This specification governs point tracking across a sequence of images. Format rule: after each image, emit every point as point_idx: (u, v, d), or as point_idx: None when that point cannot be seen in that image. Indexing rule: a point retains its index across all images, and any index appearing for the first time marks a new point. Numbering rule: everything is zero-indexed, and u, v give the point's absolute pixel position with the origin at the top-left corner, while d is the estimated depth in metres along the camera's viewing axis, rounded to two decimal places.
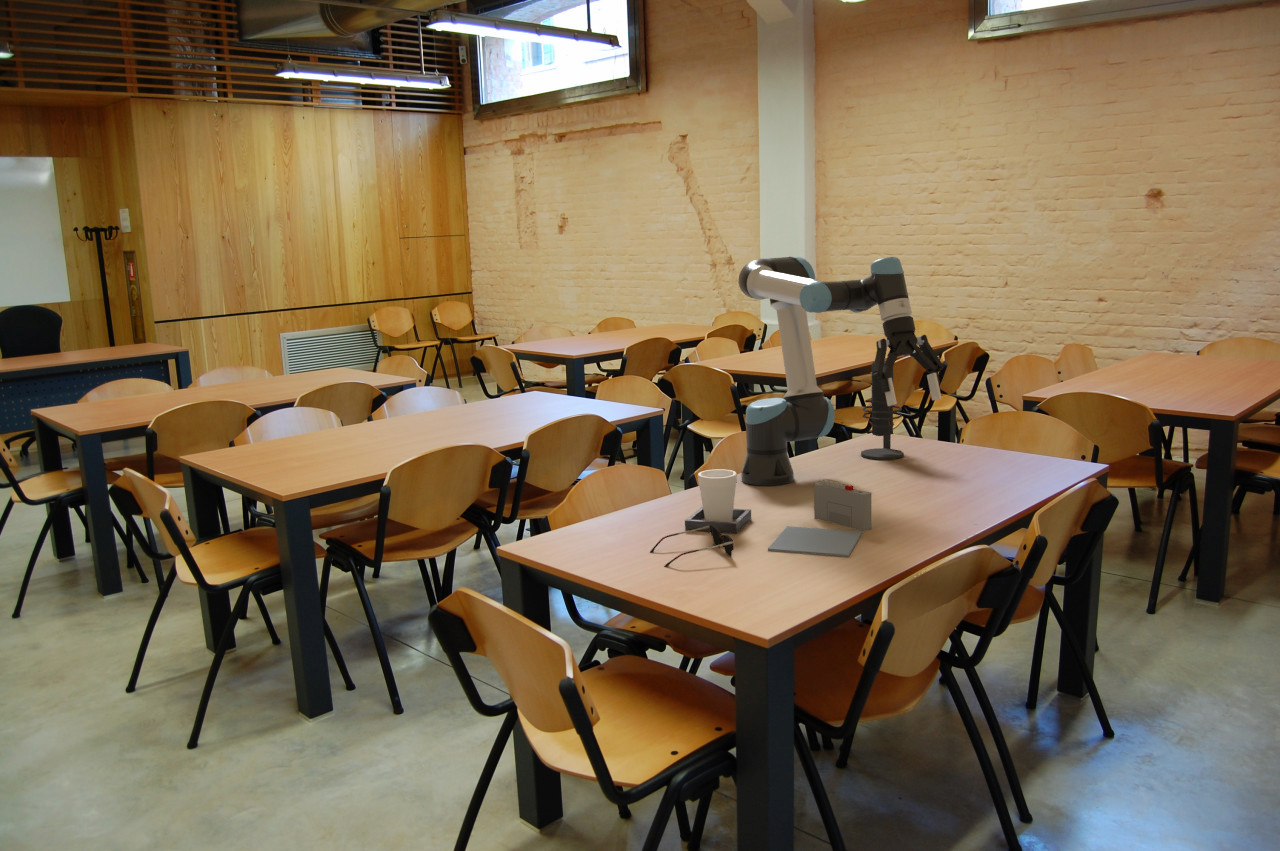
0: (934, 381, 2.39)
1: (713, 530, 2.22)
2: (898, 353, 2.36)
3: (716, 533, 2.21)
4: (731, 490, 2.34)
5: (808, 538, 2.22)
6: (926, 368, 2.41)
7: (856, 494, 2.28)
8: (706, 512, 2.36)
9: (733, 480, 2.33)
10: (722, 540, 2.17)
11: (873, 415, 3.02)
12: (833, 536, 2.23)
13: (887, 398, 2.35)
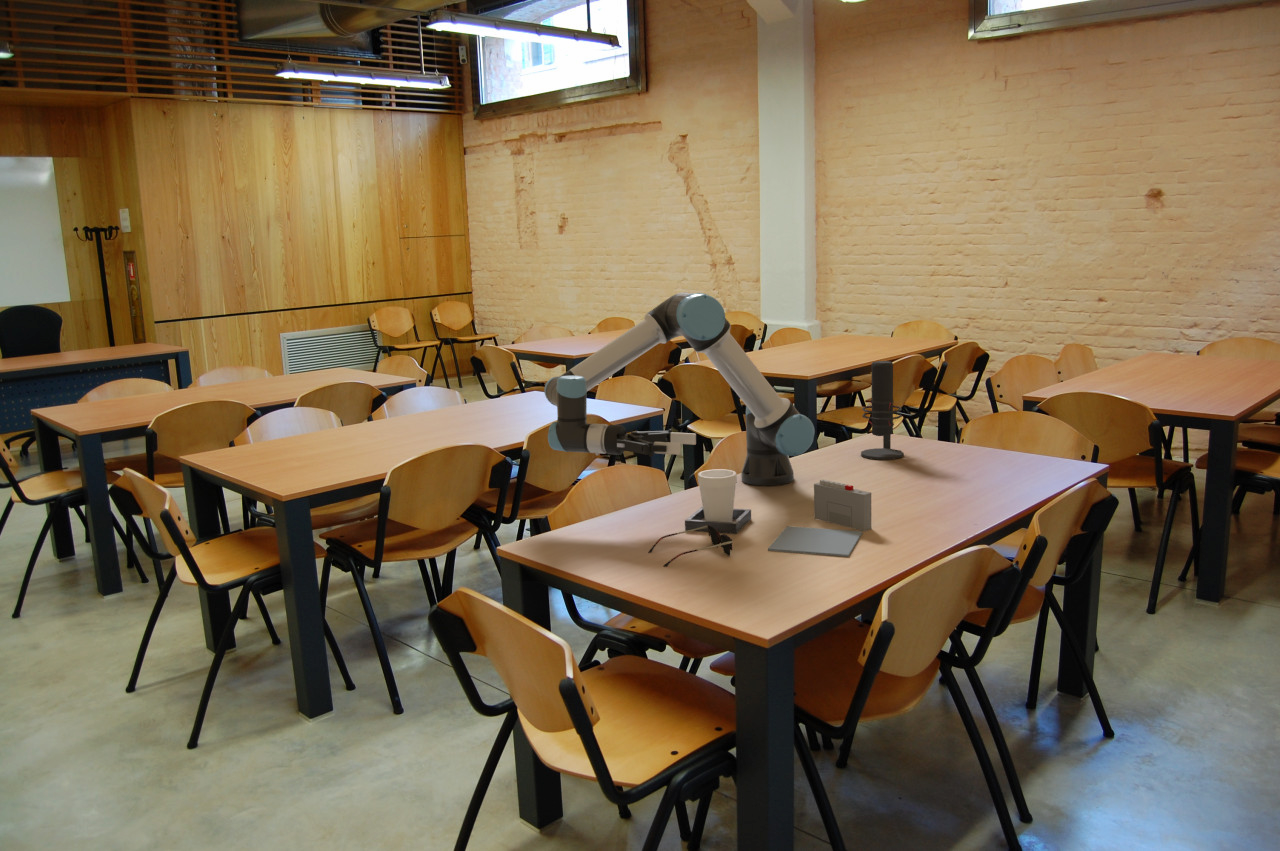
0: None
1: (711, 530, 2.23)
2: None
3: (714, 533, 2.21)
4: (731, 490, 2.34)
5: (808, 538, 2.22)
6: None
7: (856, 494, 2.28)
8: (706, 512, 2.36)
9: (733, 480, 2.33)
10: (720, 540, 2.17)
11: (873, 415, 3.02)
12: (833, 536, 2.23)
13: None
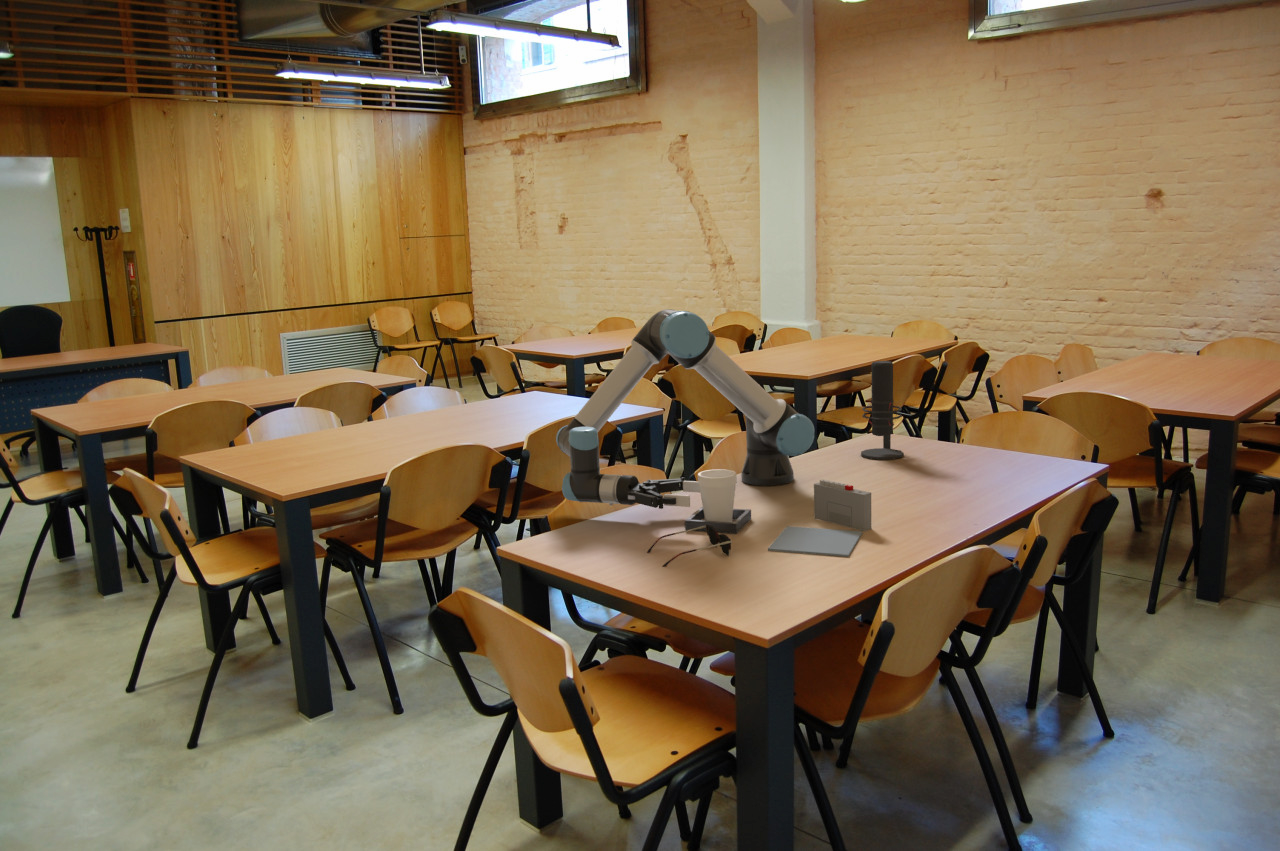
0: None
1: (709, 530, 2.23)
2: None
3: (713, 533, 2.21)
4: (731, 490, 2.34)
5: (808, 538, 2.22)
6: None
7: (856, 494, 2.28)
8: (706, 512, 2.36)
9: (733, 480, 2.33)
10: (719, 540, 2.17)
11: (873, 415, 3.02)
12: (833, 536, 2.23)
13: None
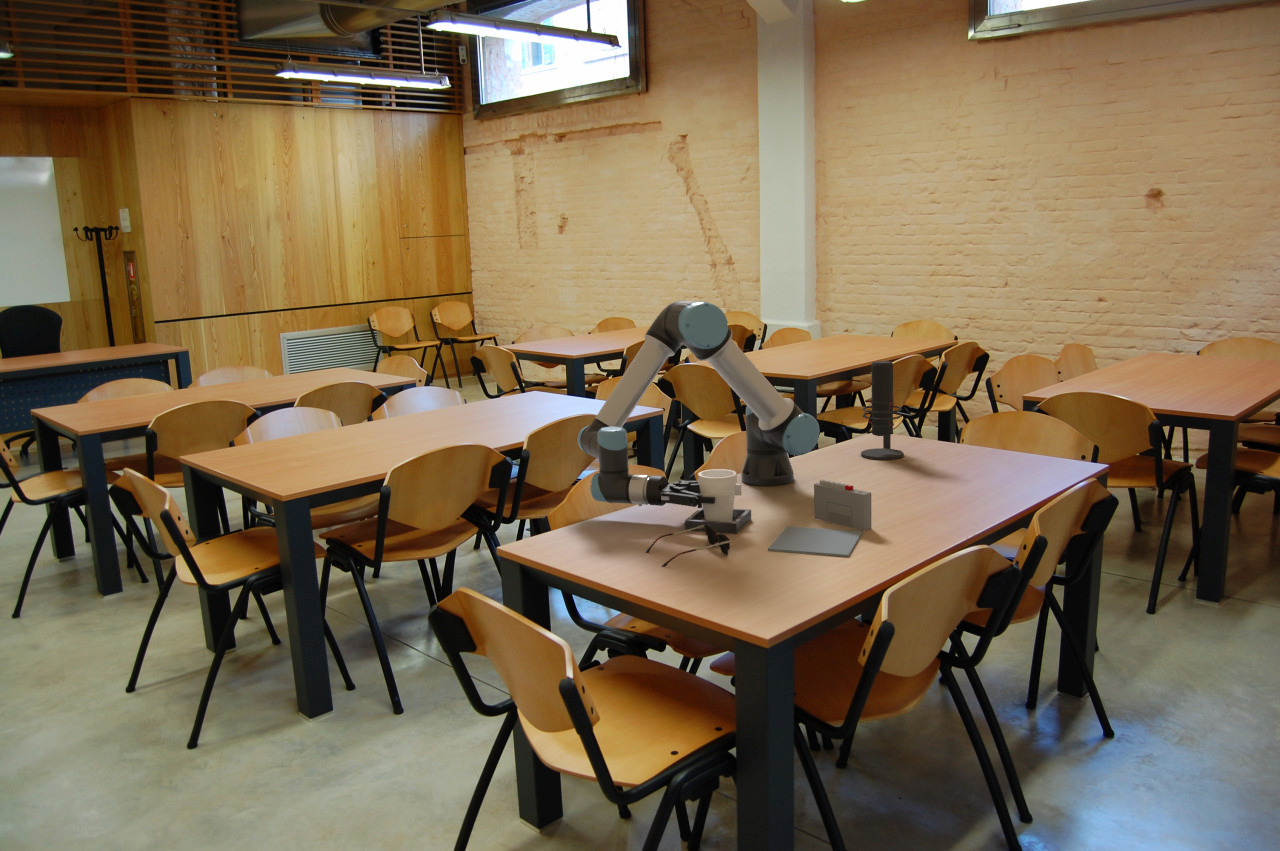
0: None
1: (708, 529, 2.23)
2: None
3: (711, 532, 2.21)
4: (731, 490, 2.34)
5: (808, 538, 2.22)
6: None
7: (856, 494, 2.28)
8: (706, 512, 2.36)
9: (733, 480, 2.33)
10: (718, 539, 2.17)
11: (873, 415, 3.02)
12: (833, 536, 2.23)
13: None
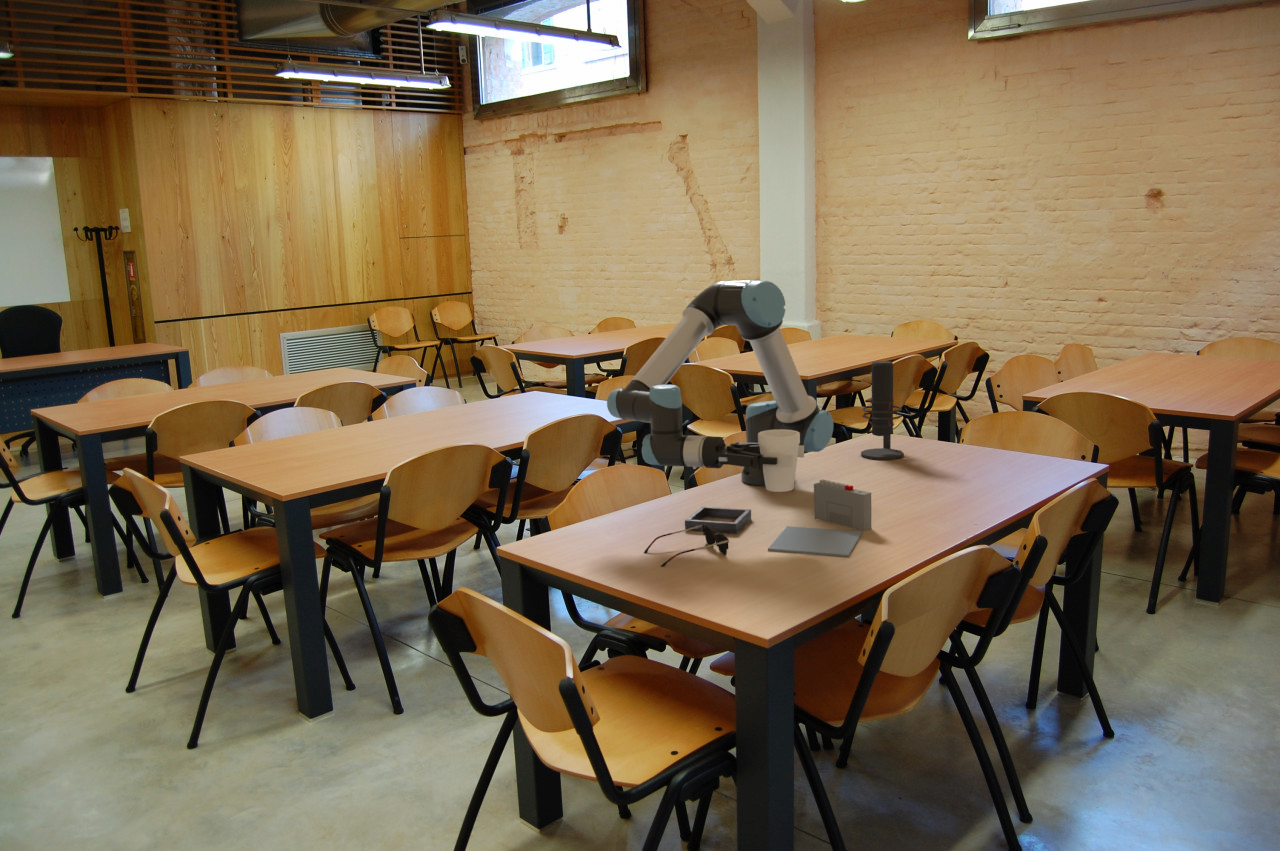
0: None
1: (706, 529, 2.23)
2: None
3: (709, 532, 2.21)
4: (794, 450, 2.18)
5: (808, 538, 2.22)
6: None
7: (856, 494, 2.28)
8: (766, 474, 2.20)
9: (796, 440, 2.17)
10: (716, 539, 2.18)
11: (873, 415, 3.02)
12: (833, 536, 2.23)
13: None
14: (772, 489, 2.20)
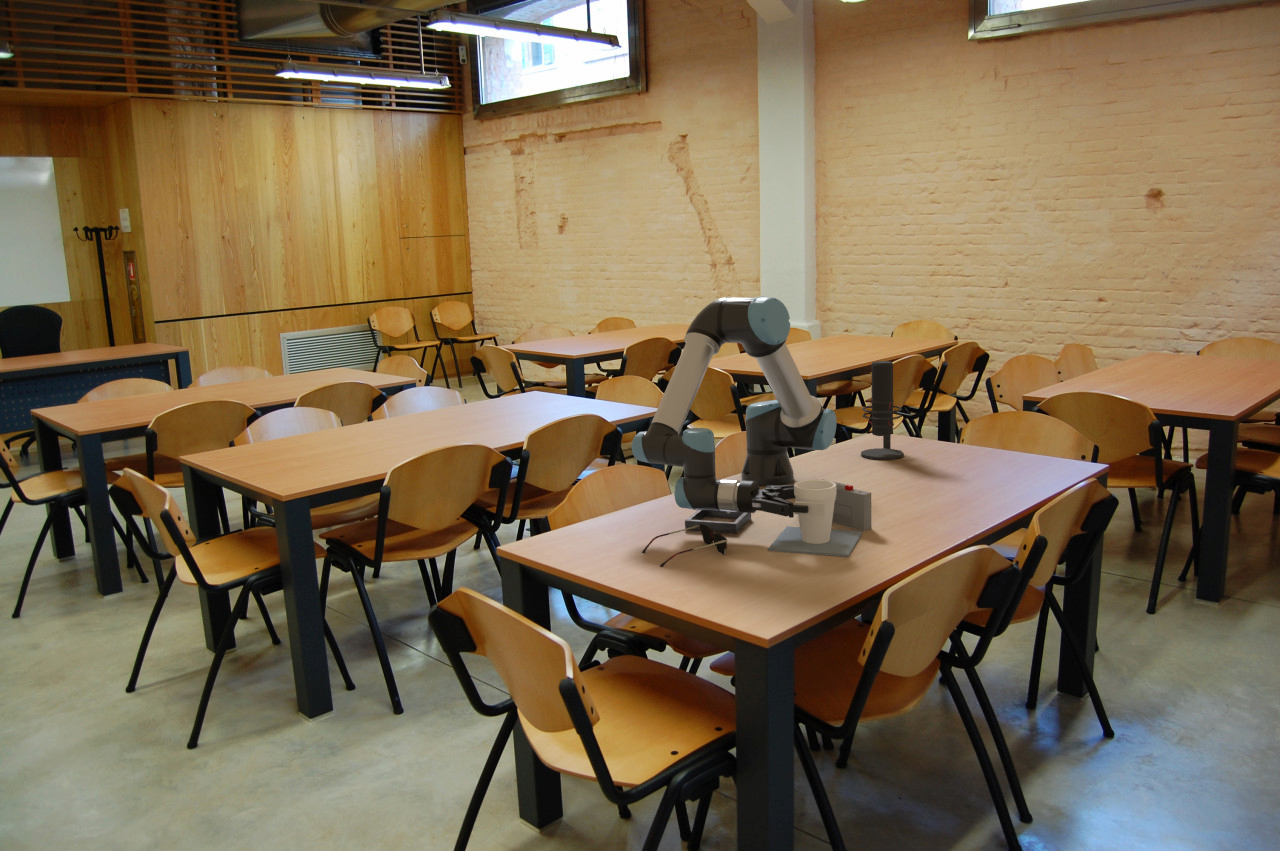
0: None
1: (703, 529, 2.23)
2: None
3: (707, 532, 2.22)
4: (831, 502, 2.17)
5: None
6: None
7: (856, 494, 2.28)
8: (803, 526, 2.19)
9: (833, 492, 2.16)
10: (714, 539, 2.18)
11: (873, 415, 3.02)
12: (833, 536, 2.23)
13: None
14: (809, 541, 2.19)
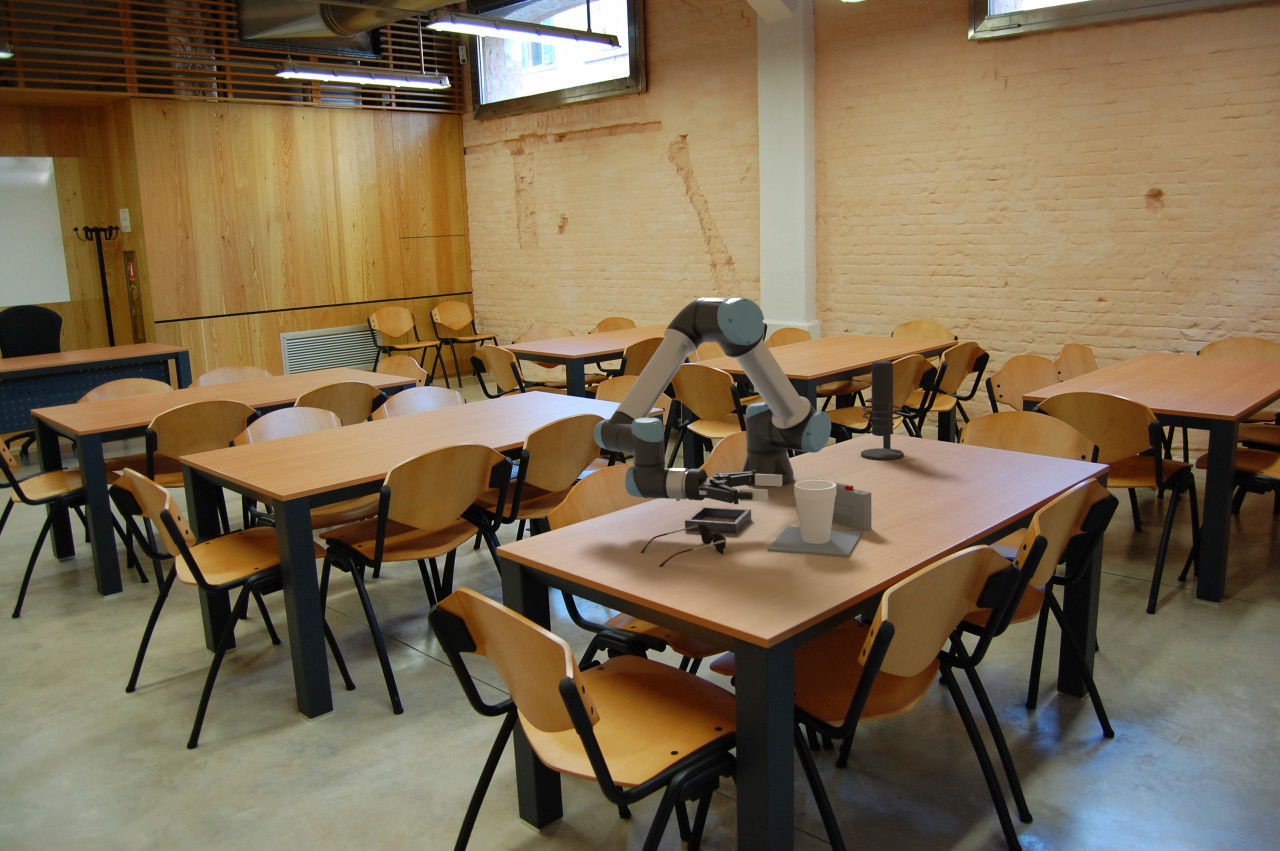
0: None
1: (702, 529, 2.23)
2: None
3: (705, 532, 2.22)
4: (831, 502, 2.17)
5: None
6: None
7: (856, 494, 2.28)
8: (803, 526, 2.19)
9: (833, 492, 2.16)
10: (713, 539, 2.18)
11: (873, 415, 3.02)
12: (833, 536, 2.23)
13: None
14: (809, 541, 2.19)
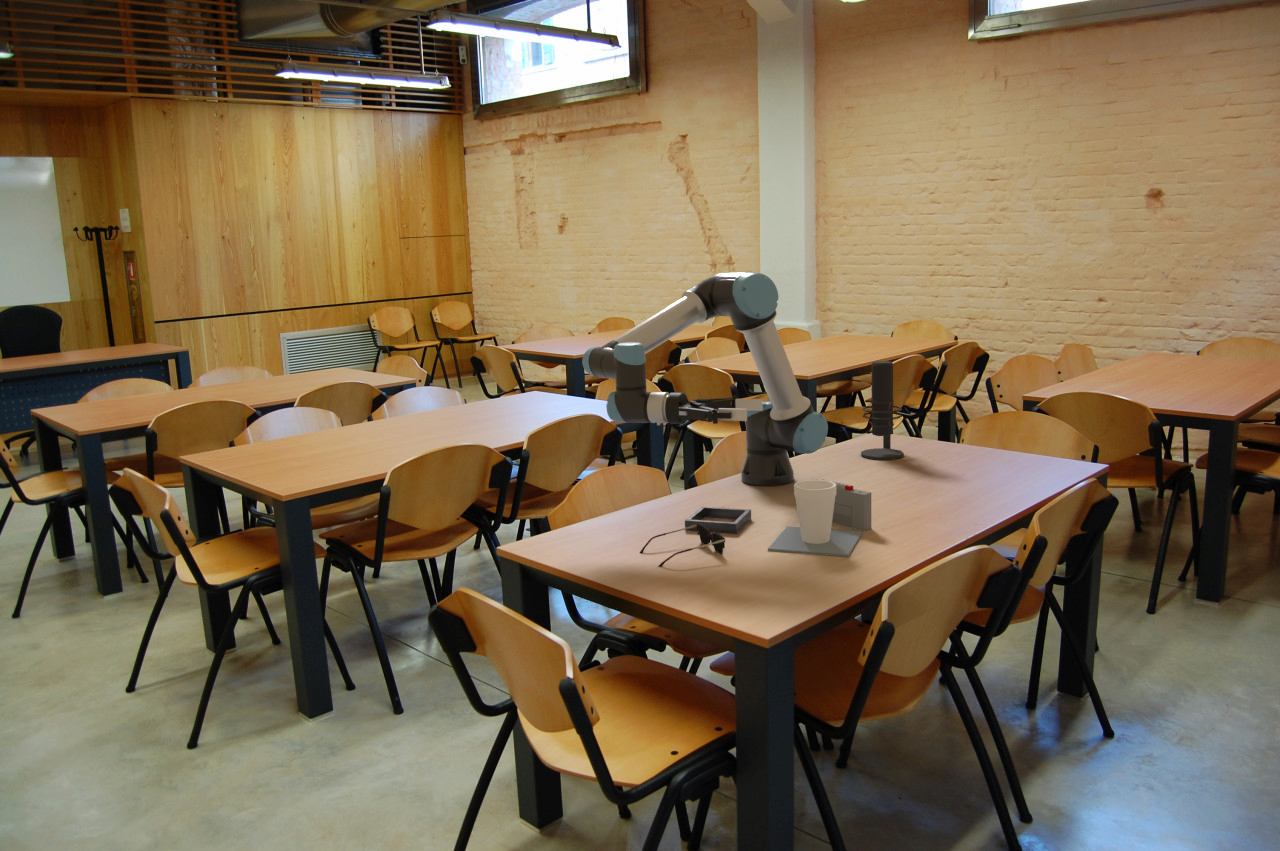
0: None
1: (700, 529, 2.24)
2: None
3: (704, 532, 2.22)
4: (831, 502, 2.17)
5: None
6: None
7: (856, 494, 2.28)
8: (803, 526, 2.19)
9: (833, 492, 2.16)
10: (711, 538, 2.18)
11: (873, 415, 3.02)
12: (833, 536, 2.23)
13: None
14: (809, 541, 2.19)
